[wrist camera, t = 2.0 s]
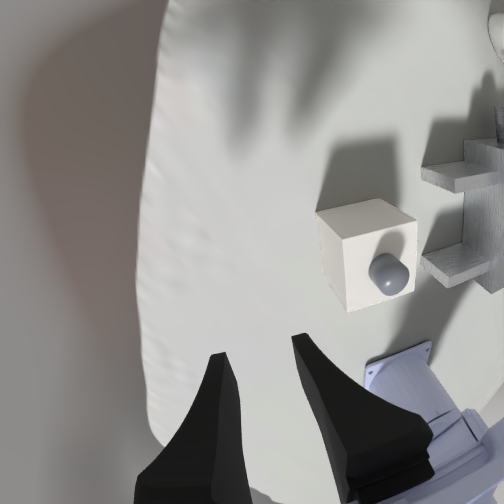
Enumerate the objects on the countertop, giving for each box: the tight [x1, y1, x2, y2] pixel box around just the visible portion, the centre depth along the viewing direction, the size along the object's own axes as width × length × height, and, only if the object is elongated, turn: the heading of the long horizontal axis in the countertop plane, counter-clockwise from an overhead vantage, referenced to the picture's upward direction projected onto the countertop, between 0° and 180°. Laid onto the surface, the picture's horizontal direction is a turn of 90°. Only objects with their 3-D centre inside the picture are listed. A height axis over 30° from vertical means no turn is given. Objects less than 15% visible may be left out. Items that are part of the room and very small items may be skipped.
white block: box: [315, 198, 417, 313], centre depth 18 cm, size 5×5×6 cm
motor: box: [421, 107, 504, 294], centre depth 19 cm, size 15×12×5 cm
